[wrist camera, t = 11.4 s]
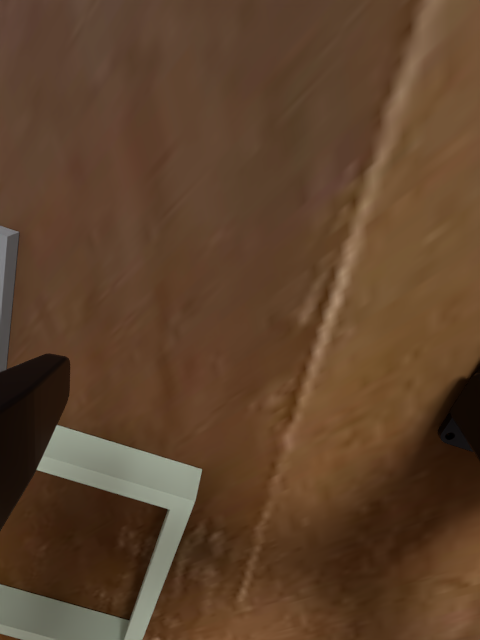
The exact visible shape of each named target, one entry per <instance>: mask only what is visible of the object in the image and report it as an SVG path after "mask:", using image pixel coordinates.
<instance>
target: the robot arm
mask: <svg viewBox="0 0 480 640" xmlns="http://www.w3.org/2000/svg"><path fill="white" fill-rule="evenodd" d="M69 391H70V361H69V359H68V358H67V357H65V356H60V355H54V354H44V355H42V356H39V357H37V358H34V359H32V360H29V361H27V362H24V363H22V364H19V365H17V366H14V367H12V368H9V369H6V370H4V371H1V372H0V531H1V529H2V527H3V526H4V524H5V522H6V521H7V519H8V517H9V516H10V514H11V512H12V511H13V509H14V507H15V506H16V504H17V502H18V501H19V499H20V497H21V496H22V494H23V492H24V491H25V489H26V487H27V486H28V484H29V482H30V480H31V479H32V477H33V475H34V473H35V472H36V469H37V467H38V465H39V463H40V461H41V459H42V457H43V455H44V452H45V450H46V448H47V446H48V444H49V441H50V439H51V437H52V435H53V433H54V430H55V428H56V426H57V424H58V422H59V419H60V417H61V415H62V413H63V410H64V408H65V406H66V404H67V401H68V397H69ZM447 433H451V434H450V435H446V434H447ZM438 435H439V437H440V439H441V440H442V441H443V442H444V443H447V444H450V445H453V446H456V447H459V448H463V449H466V450H469V451H472V452H474V453H475V455H476V456H477V458H478V459H479V461H480V368H479V369H478V371H477V372H476V374H475V375H473V376H472V378H471V379H470V381H469V382H468V384H467V385H466V387H465V388H464V390H463V391H462V393H461V394H460V396H459V397H458V399H457V401H456V402H455V404H454V405H453V407H452V408H451V410H450V413H449V414H448V416H447V417H446V419H445V420H444V422H443V423H442V425H441V426H440V428H439V430H438Z"/></svg>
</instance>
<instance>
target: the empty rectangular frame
mask: <svg viewBox="0 0 480 640" xmlns="http://www.w3.org/2000/svg"><path fill="white" fill-rule="evenodd" d="M36 470H39V471H42V472H45V473H49V474H52V475H55V476H59V477H62V478H66V479H69V480H72V481H76V482H79V483H82V484H86V485H89V486H92V487H96V488H99V489H102V490H106V491H109V492H112V493H116V494H119V495H123V496H126V497H129V498H133V499H136V500H139V501H143V502H146V503H149V504H153V505H156V506H159V507H163V508H166V509H168V511H167V514H166V517H165V519H164V522H163V525H162V528H161V531H160V534H159V537H158V540H157V542H156V545H155V548H154V551H153V554H152V557H151V560H150V563H149V565H148V568H147V571H146V574H145V577H144V580H143V583H142V586H141V588H140V591H139V594H138V597H137V600H136V603H135V606H134V609H133V612H132V614H131V617H130V620H126V619H122V618H118V617H115V616H111V615H108V614H104V613H101V612H97V611H94V610H90V609H86V608H83V607H79V606H76V605H72V604H69V603H65V602H62V601H58V600H54V599H51V598H47V597H44V596H40V595H37V594H33V593H30V592H26V591H22V590H19V589H15V588H12V587H8V586H5V585H1V584H0V634H4V635H7V636H11V637H15V638H18V639H22V640H142V639H143V636H144V634H145V631H146V629H147V626H148V623H149V621H150V618H151V616H152V613H153V610H154V608H155V605H156V602H157V600H158V597H159V595H160V592H161V589H162V587H163V584H164V582H165V579H166V576H167V574H168V571H169V569H170V566H171V563H172V561H173V558H174V555H175V553H176V550H177V548H178V545H179V542H180V540H181V537H182V535H183V532H184V529H185V527H186V524H187V521H188V519H189V516H190V514H191V511H192V508H193V506H194V503H195V500H196V495H197V491H198V486H199V482H200V477H201V473H202V469H200V468H196V467H193V466H190V465H186V464H183V463H180V462H177V461H173V460H170V459H167V458H164V457H160V456H157V455H154V454H150V453H147V452H144V451H141V450H137V449H134V448H131V447H127V446H124V445H121V444H118V443H114V442H111V441H108V440H105V439H101V438H98V437H95V436H91V435H88V434H85V433H82V432H78V431H75V430H72V429H68V428H65V427H62V426H59V425H57V426H56V428H55V430H54V433H53V435H52V437H51V439H50V441H49V444H48V446H47V448H46V450H45V452H44V455H43V457H42V459H41V461H40V463H39V465H38V467H37V469H36Z"/></svg>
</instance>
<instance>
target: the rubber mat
mask: <svg viewBox="0 0 480 640" xmlns="http://www.w3.org/2000/svg"><path fill="white" fill-rule="evenodd" d="M18 240H19V232H17V231H14V230H11V229H8V228H5V227H2V226H0V372H1V371H4V370H6V367H7V357H8V346H9V335H10V325H11V314H12V304H13V293H14V283H15V272H16V261H17V251H18Z"/></svg>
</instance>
